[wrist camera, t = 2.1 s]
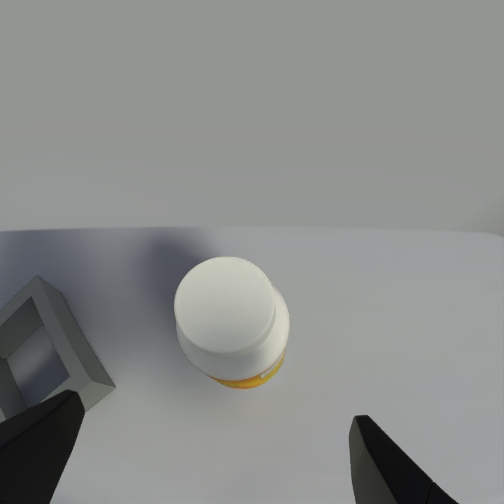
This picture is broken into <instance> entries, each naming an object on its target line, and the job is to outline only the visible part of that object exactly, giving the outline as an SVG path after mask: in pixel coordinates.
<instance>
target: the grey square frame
mask: <svg viewBox="0 0 504 504" xmlns="http://www.w3.org/2000/svg"><path fill="white" fill-rule="evenodd" d="M42 324H44V326H45V328H46V330H47V332H48V334H49V336H50V339H51V341H52V343H53V345H54V347H55V349H56V351H57V353H58V355H59V356H60V358H61V360H62V362H63V364H64V366H65V368H66V370H67V371H68V373H69V375H70V377H69V378H68V379H66V380H65V381H64V382H63V383H62V384H61V385H59V386H58V387H57V388H56V389H55V390H54V391H53V392H51V393H50V394H49V395H48V396H47V397H46V398H44V399H43V400H42V401H41V402H43V401H45V400H47V399H49V398H51V397H53V396H54V395H56V394H58V393H60V392H62V391H64V390H66V389H70V390H73V391H77V392H78V393H79V395H80V398H81V400H82V403H83V405H84V408H85V412H87V411H88V410H89V409H90V408H91V407H93V406H94V405H95V404H96V403H98V402H99V401H100V400H101V399H103V398H104V397H105V396H106V395H108V394H109V393H110V392H111V391H112V390H114V389H115V388H116V387H115V385H114V384H113V382H112V381H111V379H110V378H109V376H108V375H107V373H106V371H105V370H104V368H103V367H102V365H101V364H100V362H99V360H98V359H97V357H96V356H95V354H94V352H93V351H92V349H91V347H90V346H89V344H88V342H87V341H86V339H85V337H84V335H83V334H82V332H81V330H80V328H79V326H78V325H77V323H76V321H75V319H74V317H73V315H72V314H71V312H70V310H69V308H68V306H67V304H66V302H65V300H64V298H63V296H62V294H61V292H59V291H58V290H57V289H55V288H54V287H53V286H51V285H50V284H49V283H47V282H46V281H45V280H43V279H42V278H41V277H39V276H38V275H36V276H35V277H34V278H33V279H32V280H31V281H30V282H29V283H28V284H27V285H26V286H25V287H24V288H23V289H22V290H21V291H20V292H18V293H17V294H16V295H15V296H14V297H13V298H12V299H11V300H10V301H9V302H8V303H7V304H6V305H5V306H4V307H3V308H2V309H1V310H0V423H1V422H3V421H5V420H7V419H9V418H11V417H13V416H15V415H17V414H19V413H21V412H23V411H25V410H27V407H26V405H25V403H24V401H23V399H22V397H21V394H20V392H19V390H18V388H17V386H16V383H15V381H14V379H13V376H12V374H11V371H10V369H9V366H8V364H7V361H6V358H7V357H8V356H9V355H10V354H11V353H12V352H13V351H14V350H15V349H16V348H17V347H18V346H20V345H21V344H22V343H23V342H24V341H25V340H26V339H27V338H28V337H29V336H30V335H31V334H32V333H33V332H34V331H35V330H36V329H37V328H39V327H40V326H41V325H42ZM41 402H40V403H41Z"/></svg>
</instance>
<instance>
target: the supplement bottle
mask: <svg viewBox="0 0 504 504" xmlns="http://www.w3.org/2000/svg"><path fill="white" fill-rule="evenodd" d="M174 313H175V318H176V331H177V337H178V341H179V344H180V347H181V349H182V351H183V352H184V354H185V356H186V357H187V358H188V359H189V361H190V362H191V363H192V364H193V365H194V366H195V367H196V368H198V369H199V370H200V371H201V372H203V373H205V374H206V375H208V376H210V377H211V378H213V379H214V380H216V381H218V382H220V383H221V384H223V385H225V386H228V387H231V388H235V389H251V388H255V387H258V386H260V385H262V384H264V383H266V382H267V381H268V380H270V379H271V378H272V377H273V376H274V375H275V374H276V372H277V371H278V370H279V368H280V366H281V364H282V361H283V359H284V355H285V350H286V345H287V340H288V336H289V328H290V322H289V313H288V309H287V306H286V303H285V301H284V299H283V297H282V296H281V294H280V293H279V291H278V290H277V289H276V288H275V287H274V286H273V285H272V284H271V283H270V281H269V279H268V278H267V276H266V275H265V274H264V273H263V271H261V270H260V269H259V268H258V267H257V266H256V265H254V264H252V263H251V262H249V261H247V260H244V259H241V258H237V257H230V256H223V257H215V258H212V259H208V260H206V261H204V262H202V263H200V264H198V265H197V266H195V267H194V268H192V269H191V270H190V271H189V272H188V273H187V274H186V275H185V277H184V278H183V279H182V281H181V282H180V284H179V286H178V289H177V291H176V295H175V300H174Z"/></svg>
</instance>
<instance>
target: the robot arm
mask: <svg viewBox="0 0 504 504" xmlns="http://www.w3.org/2000/svg"><path fill="white" fill-rule="evenodd" d="M84 415H85V408H84V405H83V403H82V400H81V398H80V395H79V393H78V392H77V391H73V390H70V389H66V390H64V391H62V392H60V393H58V394H56V395H54V396H53V397H51V398H49V399H47V400H45V401H43V402H41V403H39V404H37V405H35V406H33V407H31V408H29V409H27V410H25V411H23V412H21V413H19V414H17V415H15V416H13V417H11V418H9V419H7V420H5V421H3V422H1V423H0V504H50V501H51V499H52V496H53V494H54V491H55V489H56V487H57V484H58V482H59V480H60V477H61V475H62V473H63V470H64V468H65V466H66V463H67V461H68V459H69V457H70V455H71V452H72V450H73V447H74V445H75V442H76V439H77V436H78V432H79V429H80V426H81V424H82V421H83V418H84ZM349 448H350V463H351V478H352V485H353V490H354V496H355V501H356V504H459V503H457V502H456V501H455V500H454V499H452V498H451V497H450V496H449V495H448V494H447V493H446V492H444V491H443V490H442V489H441V488H440V487H439V486H438V485H437V484H436V483H435V482H433V480H432V479H431V478H430V477H429V476H428V475H427V474H426V473H425V472H424V471H423V470H422V469H421V468H420V467H419V466H418V465H417V464H416V463H415V462H414V461H413V460H412V459H411V458H410V457H409V456H408V455H407V454H406V453H405V452H404V451H403V450H402V449H401V448H400V447H399V446H398V445H397V444H396V443H395V442H394V441H393V440H392V439H391V438H390V437H389V436H388V435H387V434H386V433H385V432H384V431H383V430H382V429H381V428H380V427H379V426H378V425H377V424H376V423H375V422H374V421H373V420H372V419H371V418H370V417H369V416H368V415H358V416H355V417H354V418H353V422H352V425H351V429H350V432H349Z"/></svg>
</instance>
